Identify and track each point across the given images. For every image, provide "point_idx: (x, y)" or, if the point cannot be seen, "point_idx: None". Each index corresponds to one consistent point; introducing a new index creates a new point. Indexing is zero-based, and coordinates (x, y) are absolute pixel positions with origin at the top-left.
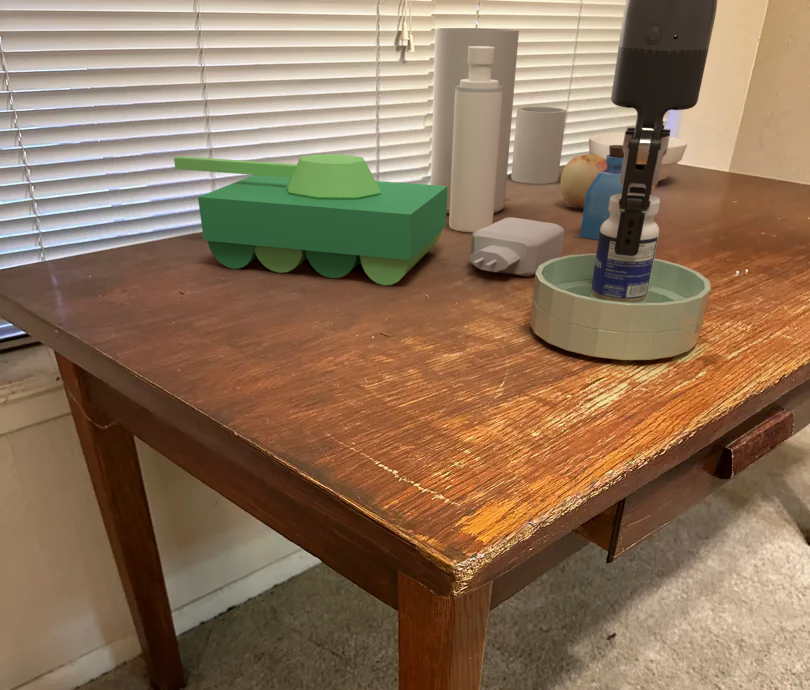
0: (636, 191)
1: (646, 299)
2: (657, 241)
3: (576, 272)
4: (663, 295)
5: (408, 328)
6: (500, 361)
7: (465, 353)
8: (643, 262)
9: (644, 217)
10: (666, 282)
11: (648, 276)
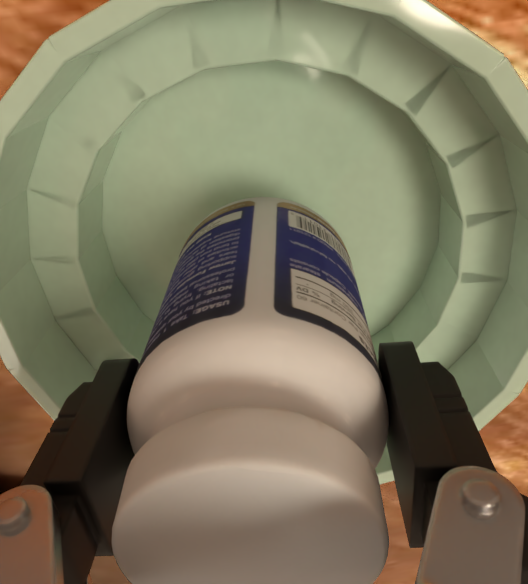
0: (73, 566)
1: (89, 190)
2: (247, 297)
3: None
4: (102, 146)
5: (391, 542)
6: (519, 398)
7: (490, 453)
8: (344, 291)
9: (452, 455)
10: (27, 157)
11: (298, 238)
